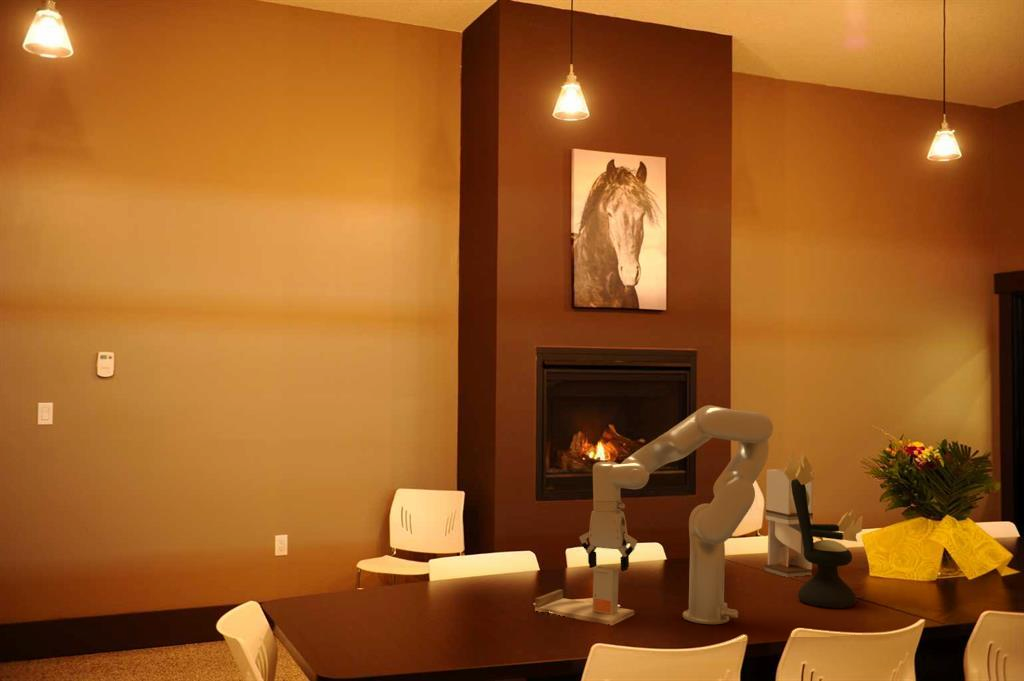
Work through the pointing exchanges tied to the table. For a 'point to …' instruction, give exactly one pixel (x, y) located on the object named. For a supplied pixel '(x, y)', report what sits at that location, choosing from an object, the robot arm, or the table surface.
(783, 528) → the white pedestal stand
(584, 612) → the board
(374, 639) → the table surface
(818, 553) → the black chair
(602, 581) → the skincare box
